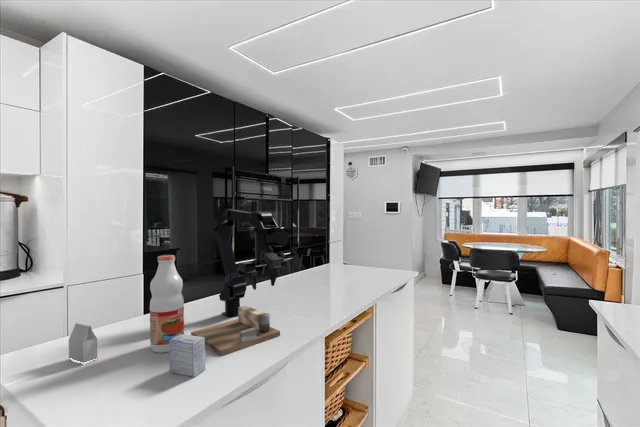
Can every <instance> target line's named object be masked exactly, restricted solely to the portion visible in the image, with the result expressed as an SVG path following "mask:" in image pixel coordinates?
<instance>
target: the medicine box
mask: <svg viewBox="0 0 640 427" xmlns="http://www.w3.org/2000/svg"><path fill="white" fill-rule="evenodd" d="M168 354H169V373H170V374H176V375H180V376H187V377H192V378H196V377H197V376H198V375H200V374H201V373H202V372H204V371H205V370H206V346H205V338H204V337H199V336H192V335H191V334H185V333H184V334H181V335H178V336H176V337H174V338H172V339H171V340H169V352H168Z"/></svg>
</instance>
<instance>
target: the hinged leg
mask: <svg viewBox="0 0 640 427" xmlns="http://www.w3.org/2000/svg"><path fill="white" fill-rule="evenodd" d="M270 316H271V315H270V313H267V312H265V311H261V310H259V309H256V308H252V307H251V306H248V305H243V306H240V307H238V315H237V319H238V321H239V322H241V323H244V324H246V325H248V326H250V327H253V328H256V329H257V330H259V331H260V332H266V331H269V330H270V327H271V324H270V323H271V322H270Z"/></svg>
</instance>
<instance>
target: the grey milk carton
mask: <svg viewBox="0 0 640 427" xmlns="http://www.w3.org/2000/svg"><path fill="white" fill-rule="evenodd" d="M69 358H72V359H74V360H77V361H80V362H83V363H84V362H87V361H90V360H93V359H96V358H97V359H98V338H97V336H96V335H95V332H94V331H93V329H92V327H91V325H86V324H83V323H78V322H75V324H74V327H73V330H72V332H71V334H70V336H69V338H68V359H69Z"/></svg>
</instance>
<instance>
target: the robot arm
mask: <svg viewBox="0 0 640 427" xmlns="http://www.w3.org/2000/svg"><path fill="white" fill-rule="evenodd" d="M236 221H237V222H238V221H239V222H244V223H247V224H249V226H252V227H254V228H253V229H252V230H251V231H250V233H251V234H254V248H253V250H252V251H253V252H254V253H255V258H254V259H253V262H251V261H244V262H239V263H238V265H237V263H236V259H235V255H234V251H233V250H234V249H233V247H232V246H233V245H232V242H231V237H232V234H233V231H232V228H233V227H234V225H235V224H236V223H235V222H236ZM209 231H210V234H211V236H212V238H213V239H214V240H215V241H216V242H217V245H218V249H219V254H220V258H221V262H222V267H223V271H224V275H225V277H224V280H223V282H222V283H223V289H222V291H221V292H220V293H219V295H218V297H219V300H220V301H221V302H224V311H222V312H221V315H223V316H225V317H228V318H232V317H237V316H238V307H241V301H240V300H241V299H243V298H244V297H245V295H246V291H247V285H248V283H247V281H246V277H247V278H248V281H249V282H250V286H252V289H253V290H254V291H256V290H257V274H259V273H258V271H257V270H256V269H259V268H266V267H267V268H268V270H269V271H268V272H269V280H270V285H271V287H273V286H275V285H276V284H275V283H276V280H277V278H278V277H277V276H278V275H279V272H280V271H281V270H283V269H284V267H287V266H288V259H287V258H285V256H286V255H285V253H284V252H278V253H275V252H274V248H272V247H280V248H283V247H286V246H287V245H288V243H289V241H290V240H289V235H288V232H287V231H285V227H283V226H282V227H279V225H278V224H277V221H276V220H275V219H274V217H273V215H272V213H271V212H270V211H253V212H252V211H251V212H250V211H244V210H238V209H235V208H227V209H226V208H225V209H224V210H223V211H222V212H221V213H220V214H218V215H217V216H215V217H214V218H213V219H212V220H211V222H210V223H209ZM239 272H242V273H243V274H242V275H241V273H239ZM244 273H245V275H246V277H245V275H244Z"/></svg>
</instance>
